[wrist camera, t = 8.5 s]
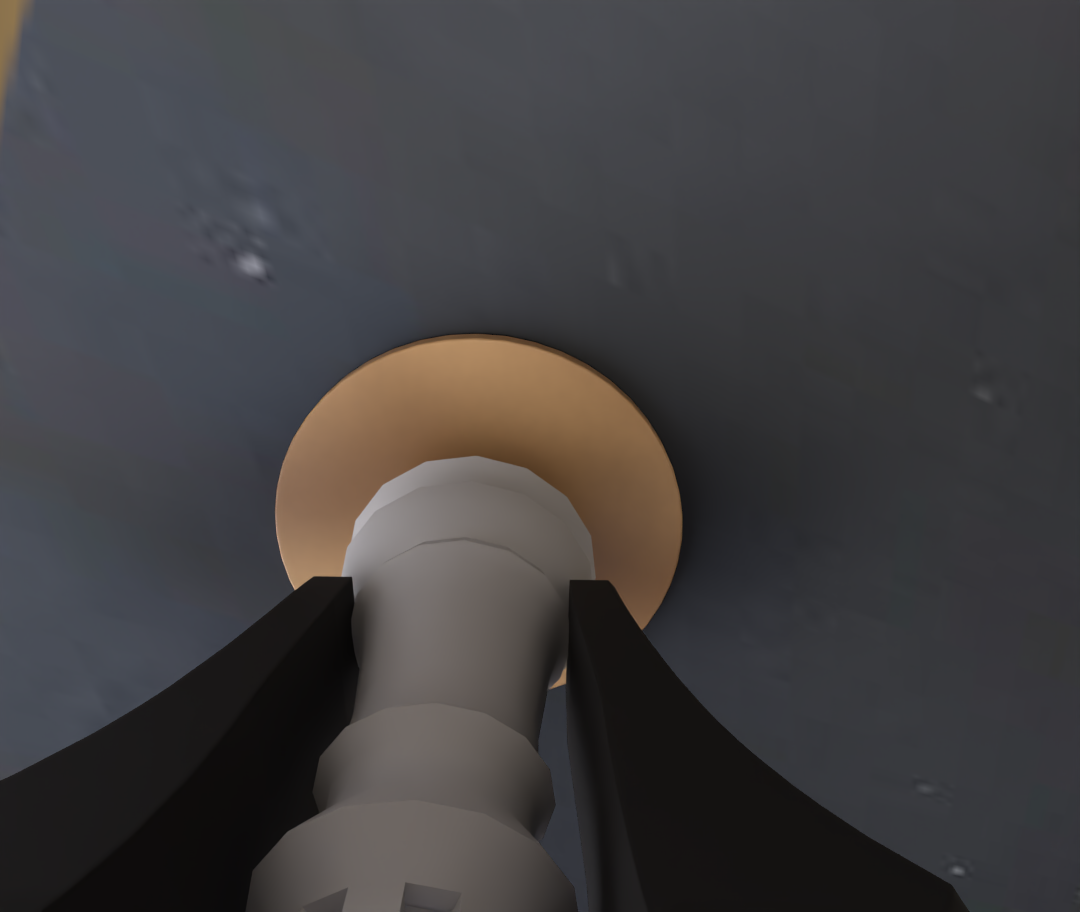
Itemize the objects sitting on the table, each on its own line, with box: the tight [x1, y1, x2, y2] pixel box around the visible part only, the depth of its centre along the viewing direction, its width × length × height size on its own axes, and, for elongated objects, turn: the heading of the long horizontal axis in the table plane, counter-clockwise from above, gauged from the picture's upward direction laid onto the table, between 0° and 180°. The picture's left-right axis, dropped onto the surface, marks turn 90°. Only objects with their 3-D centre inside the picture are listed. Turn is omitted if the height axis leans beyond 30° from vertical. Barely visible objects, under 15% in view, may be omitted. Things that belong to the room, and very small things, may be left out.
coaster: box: [275, 334, 683, 689], centre depth 15 cm, size 8×8×1 cm
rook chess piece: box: [245, 456, 596, 912], centre depth 10 cm, size 4×4×8 cm
